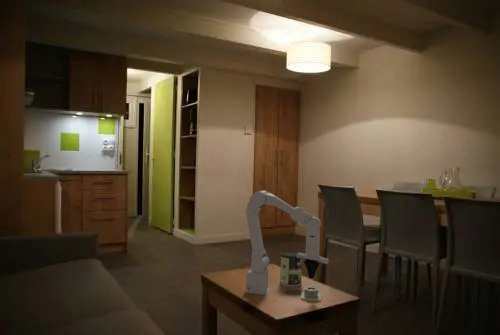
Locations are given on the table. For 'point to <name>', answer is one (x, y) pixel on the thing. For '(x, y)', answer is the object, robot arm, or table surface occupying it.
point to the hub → (311, 298)
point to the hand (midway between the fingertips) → (311, 277)
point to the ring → (311, 292)
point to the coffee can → (290, 269)
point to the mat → (293, 292)
